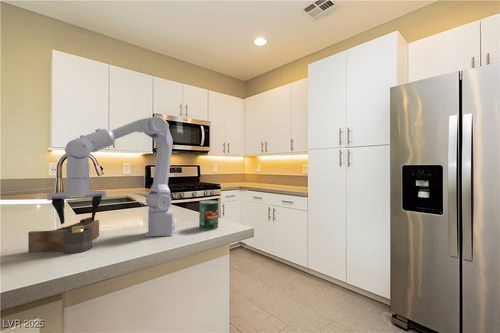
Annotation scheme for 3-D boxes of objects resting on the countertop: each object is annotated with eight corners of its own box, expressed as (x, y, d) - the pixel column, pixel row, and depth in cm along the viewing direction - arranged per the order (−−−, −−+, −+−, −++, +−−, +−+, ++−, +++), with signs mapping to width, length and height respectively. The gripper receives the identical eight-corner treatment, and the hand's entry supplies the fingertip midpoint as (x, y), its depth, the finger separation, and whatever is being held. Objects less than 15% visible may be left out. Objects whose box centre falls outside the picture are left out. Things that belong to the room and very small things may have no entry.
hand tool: (56, 242, 81) (56, 228, 81) (46, 241, 82) (46, 228, 82) (99, 227, 100) (99, 216, 100) (91, 227, 101) (91, 216, 101)
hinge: (108, 236, 88) (108, 219, 88) (84, 253, 71) (84, 233, 71) (57, 237, 85) (57, 221, 85) (20, 256, 69) (20, 235, 69)
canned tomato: (205, 224, 106) (205, 199, 106) (221, 226, 103) (221, 200, 103) (195, 229, 99) (195, 202, 98) (212, 231, 96) (212, 203, 96)
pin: (86, 247, 76) (85, 225, 76) (81, 251, 73) (80, 228, 73) (75, 247, 76) (75, 225, 75) (70, 251, 73) (69, 228, 72)
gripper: (105, 176, 81) (105, 216, 81) (50, 177, 74) (50, 221, 74) (105, 178, 75) (105, 221, 75) (45, 179, 68) (45, 227, 68)
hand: (78, 221), depth 74 cm, fingers open, 7 cm apart
